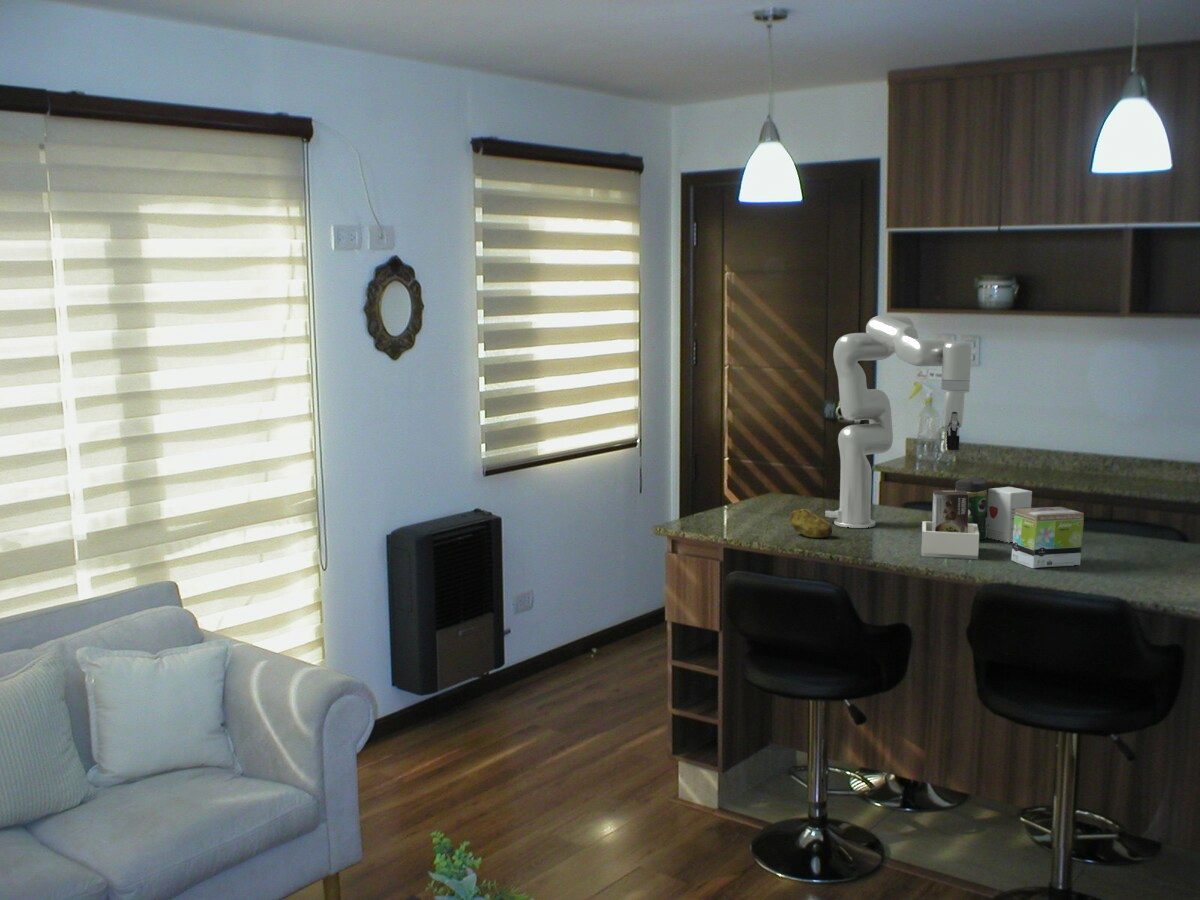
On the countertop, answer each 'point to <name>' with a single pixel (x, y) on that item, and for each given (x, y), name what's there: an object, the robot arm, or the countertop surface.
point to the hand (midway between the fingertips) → (952, 447)
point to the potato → (809, 524)
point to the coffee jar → (975, 501)
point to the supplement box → (1005, 511)
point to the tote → (950, 543)
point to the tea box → (1047, 537)
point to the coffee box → (950, 511)
